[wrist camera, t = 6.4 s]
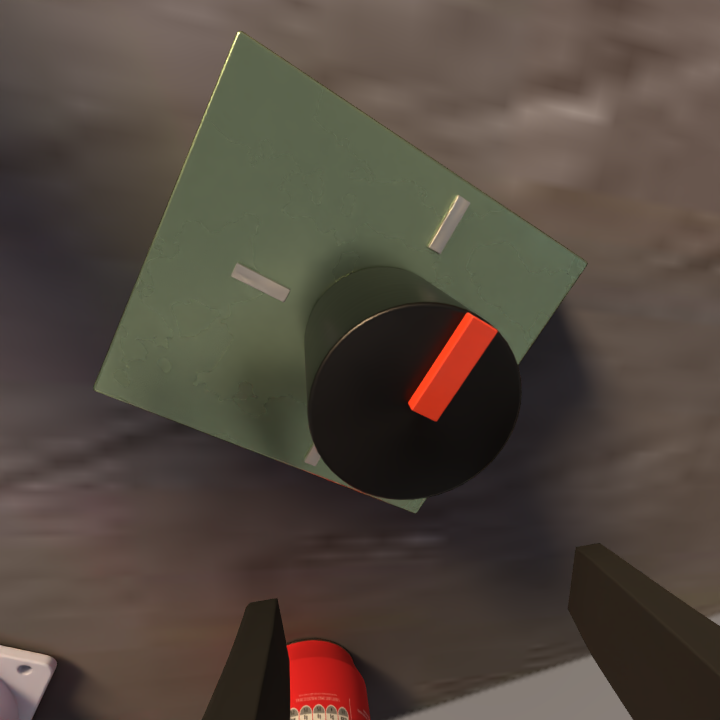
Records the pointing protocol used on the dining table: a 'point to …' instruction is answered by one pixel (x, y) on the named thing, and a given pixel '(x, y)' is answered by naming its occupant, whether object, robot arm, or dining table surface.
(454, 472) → the oven knob
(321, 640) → the beverage can
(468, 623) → the dining table surface
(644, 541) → the dining table surface
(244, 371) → the panel
